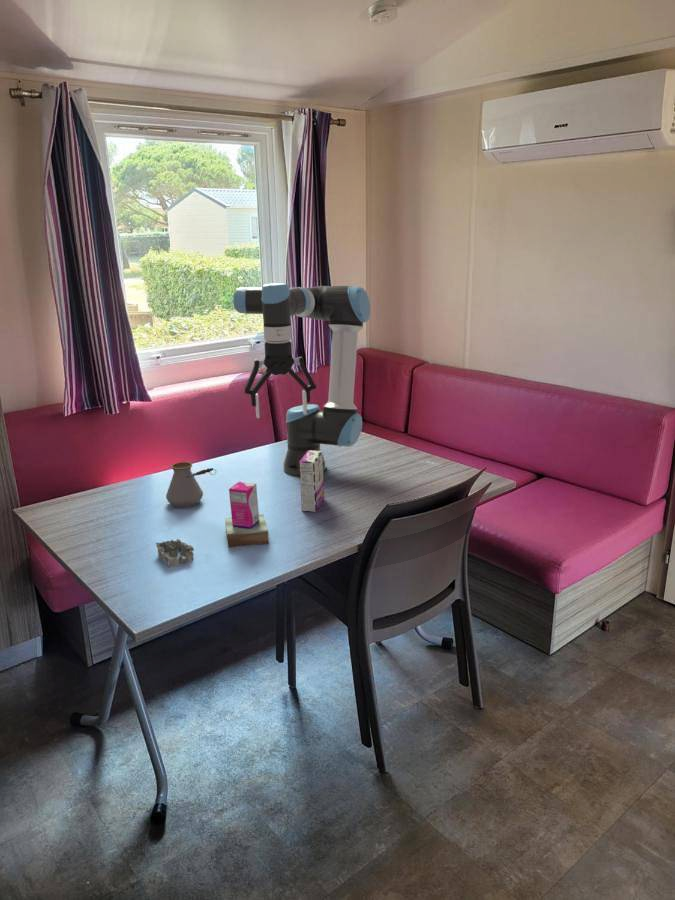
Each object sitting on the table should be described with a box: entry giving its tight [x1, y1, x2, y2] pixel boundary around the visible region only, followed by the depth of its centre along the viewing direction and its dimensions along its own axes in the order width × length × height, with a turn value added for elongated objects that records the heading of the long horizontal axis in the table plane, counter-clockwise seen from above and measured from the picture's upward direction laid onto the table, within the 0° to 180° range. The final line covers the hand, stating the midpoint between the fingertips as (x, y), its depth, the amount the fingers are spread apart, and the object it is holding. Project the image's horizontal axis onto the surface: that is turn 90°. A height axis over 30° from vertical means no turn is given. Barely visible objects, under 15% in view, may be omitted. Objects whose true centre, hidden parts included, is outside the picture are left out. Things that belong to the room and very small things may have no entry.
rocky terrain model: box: [155, 538, 195, 568], centre depth 175 cm, size 11×8×4 cm
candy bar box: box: [299, 450, 325, 513], centre depth 205 cm, size 11×5×16 cm, turn 168°
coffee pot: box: [165, 461, 217, 509], centre depth 206 cm, size 21×12×15 cm, turn 50°
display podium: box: [224, 514, 269, 548], centre depth 186 cm, size 11×11×4 cm
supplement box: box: [228, 481, 260, 529], centre depth 184 cm, size 6×6×12 cm
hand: (281, 415), depth 191 cm, fingers open, 13 cm apart
